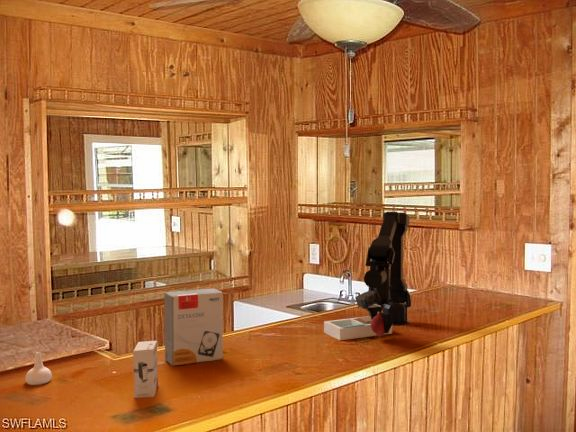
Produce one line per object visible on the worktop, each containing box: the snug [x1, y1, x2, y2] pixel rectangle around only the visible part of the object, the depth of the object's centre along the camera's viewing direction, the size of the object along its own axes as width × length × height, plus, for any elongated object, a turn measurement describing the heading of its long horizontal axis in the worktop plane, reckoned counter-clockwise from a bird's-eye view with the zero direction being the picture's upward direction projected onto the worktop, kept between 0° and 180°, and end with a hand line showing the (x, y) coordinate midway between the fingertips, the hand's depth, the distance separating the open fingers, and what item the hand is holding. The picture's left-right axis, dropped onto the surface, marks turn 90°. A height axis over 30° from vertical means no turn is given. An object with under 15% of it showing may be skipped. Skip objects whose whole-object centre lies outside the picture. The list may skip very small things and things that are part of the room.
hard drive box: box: [163, 287, 224, 367], centre depth 177 cm, size 16×8×20 cm, turn 117°
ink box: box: [132, 340, 159, 399], centre depth 151 cm, size 9×5×12 cm, turn 5°
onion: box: [371, 312, 386, 337], centre depth 196 cm, size 6×6×8 cm
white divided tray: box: [323, 315, 393, 341], centre depth 206 cm, size 20×11×4 cm, turn 114°
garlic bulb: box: [25, 351, 52, 386], centre depth 159 cm, size 6×6×8 cm
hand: (381, 330), depth 197 cm, fingers closed on onion, 6 cm apart
